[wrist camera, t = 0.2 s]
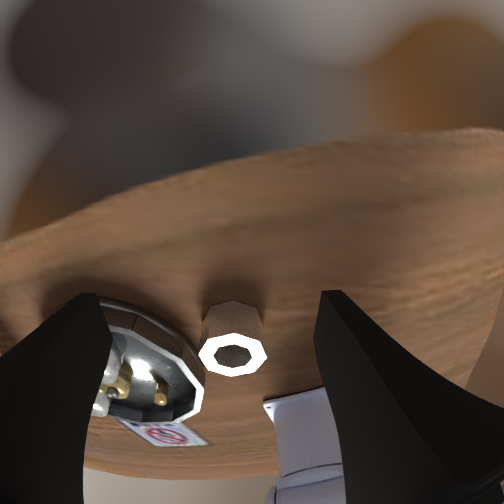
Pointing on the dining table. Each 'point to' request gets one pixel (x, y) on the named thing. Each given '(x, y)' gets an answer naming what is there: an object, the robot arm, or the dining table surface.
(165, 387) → the carrier
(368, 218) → the dining table surface
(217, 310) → the octagonal tube
